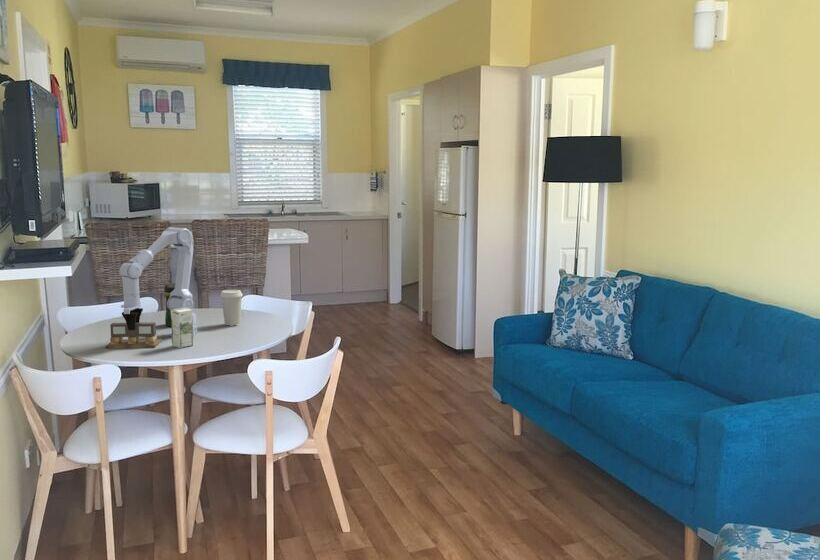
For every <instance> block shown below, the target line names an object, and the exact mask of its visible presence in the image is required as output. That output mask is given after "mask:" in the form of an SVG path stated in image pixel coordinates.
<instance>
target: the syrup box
mask: <svg viewBox="0 0 820 560" xmlns="http://www.w3.org/2000/svg"><path fill="white" fill-rule="evenodd" d="M192 313H193V309H192V310H191V309H188V308H180V309H174V310H171V326H170V327H171V333H172V336H171V346H172V347H175V348H178V349H183V348H187V347H188V346H189V347H192V346H194V337H193V336H194V335H193V329H192Z"/></svg>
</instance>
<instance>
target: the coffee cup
mask: <svg viewBox="0 0 820 560" xmlns="http://www.w3.org/2000/svg"><path fill="white" fill-rule="evenodd" d="M243 295H244V294H243V293H242V291H241V290H240V289H226V290H222V291H221V294H220V296H219V297H220V298H221V304H222V312H223V313H222V314H223V320H224V326H225V325H237V324H240V325H241V318H242V317H241V315H242V299H243Z"/></svg>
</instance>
